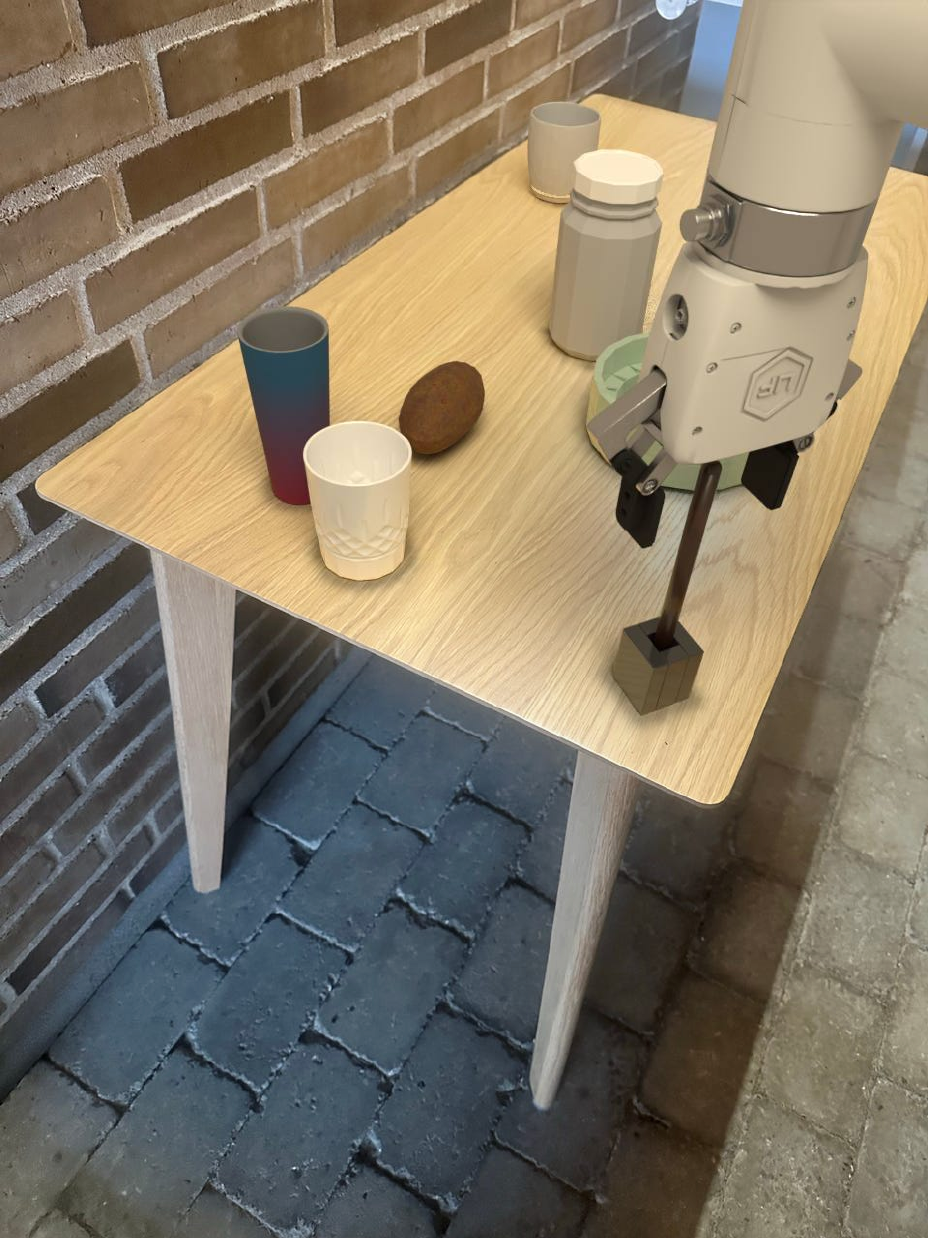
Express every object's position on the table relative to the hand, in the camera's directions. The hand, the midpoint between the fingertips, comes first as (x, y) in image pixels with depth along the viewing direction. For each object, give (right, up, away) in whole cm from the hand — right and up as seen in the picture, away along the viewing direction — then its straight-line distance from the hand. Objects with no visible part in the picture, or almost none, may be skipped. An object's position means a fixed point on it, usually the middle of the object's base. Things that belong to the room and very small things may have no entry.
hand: (698, 513), depth 55 cm
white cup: (-22, -1, +20) cm, 30 cm away
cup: (-28, +5, +26) cm, 39 cm away
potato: (-16, +10, +32) cm, 37 cm away
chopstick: (-1, -11, +12) cm, 16 cm away
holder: (-1, -11, +12) cm, 16 cm away
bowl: (+6, +11, +33) cm, 35 cm away
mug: (0, +52, +72) cm, 88 cm away
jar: (0, +23, +44) cm, 50 cm away
